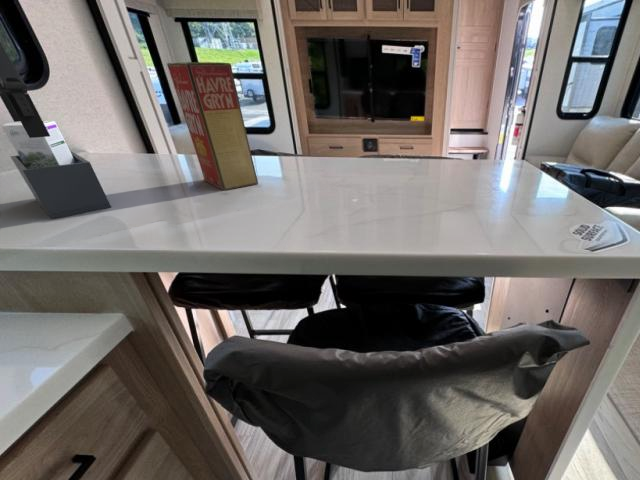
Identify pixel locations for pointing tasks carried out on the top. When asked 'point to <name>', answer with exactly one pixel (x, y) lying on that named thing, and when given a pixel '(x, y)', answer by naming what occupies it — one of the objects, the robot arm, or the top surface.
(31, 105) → the robot arm
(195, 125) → the food packaging
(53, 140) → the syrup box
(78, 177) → the dark grey open box
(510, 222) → the top surface
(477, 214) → the top surface
